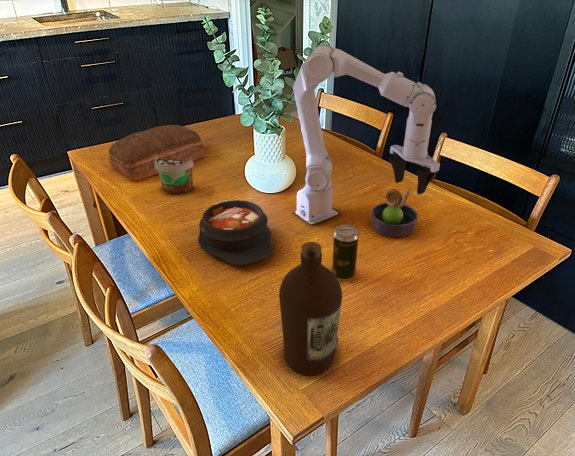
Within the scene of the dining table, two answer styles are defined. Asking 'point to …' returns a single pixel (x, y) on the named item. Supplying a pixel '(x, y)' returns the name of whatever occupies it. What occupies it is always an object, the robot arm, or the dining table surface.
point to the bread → (154, 150)
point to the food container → (175, 175)
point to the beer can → (345, 252)
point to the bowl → (395, 231)
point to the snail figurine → (394, 206)
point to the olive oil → (310, 313)
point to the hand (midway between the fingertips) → (409, 187)
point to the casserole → (235, 232)
